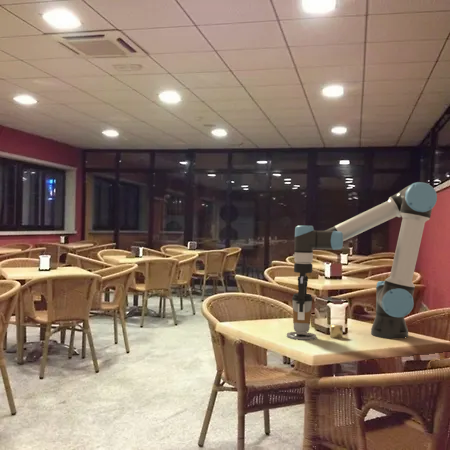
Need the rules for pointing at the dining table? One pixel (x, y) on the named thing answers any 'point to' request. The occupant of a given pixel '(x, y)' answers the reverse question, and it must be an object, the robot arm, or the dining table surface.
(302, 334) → the flange plate
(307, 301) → the coffee cup
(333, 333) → the brass coupling
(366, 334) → the dining table surface
